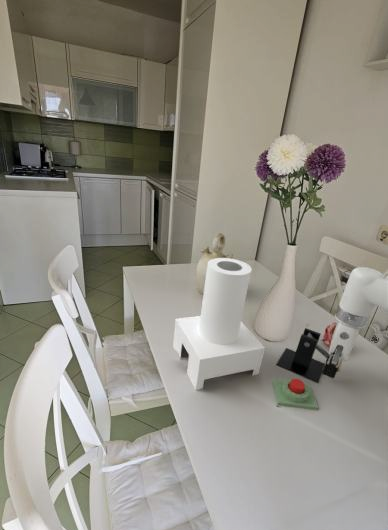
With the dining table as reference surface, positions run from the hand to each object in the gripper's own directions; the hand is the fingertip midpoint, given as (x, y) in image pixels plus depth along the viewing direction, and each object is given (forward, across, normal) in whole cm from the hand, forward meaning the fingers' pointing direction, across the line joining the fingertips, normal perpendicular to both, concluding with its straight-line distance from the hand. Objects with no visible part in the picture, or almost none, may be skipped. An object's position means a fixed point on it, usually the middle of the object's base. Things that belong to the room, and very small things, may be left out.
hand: (329, 369), depth 86 cm
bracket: (+3, 0, +8) cm, 8 cm away
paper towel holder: (+4, -14, +30) cm, 33 cm away
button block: (+3, -14, +6) cm, 15 cm away
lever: (-4, 0, +4) cm, 5 cm away
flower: (+4, +17, +1) cm, 18 cm away
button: (0, -14, +6) cm, 15 cm away
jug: (+4, +27, +52) cm, 58 cm away
